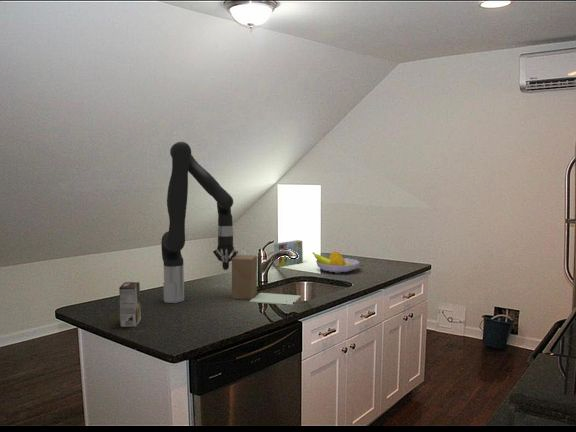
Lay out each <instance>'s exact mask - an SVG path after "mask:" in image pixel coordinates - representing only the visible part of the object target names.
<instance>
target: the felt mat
mask: <svg viewBox="0 0 576 432" xmlns="http://www.w3.org/2000/svg"><path fill="white" fill-rule="evenodd" d="M301 296H302V295H298V294H297V295H295V294H286V293H285V294H283V293H281V294H280V293H270V292H269V293H268V292H260V293H257V295H256V296H255V297H254V298H253V299H251V300H248V302H249V303H259V304H271V305H272V304H273V305H282V304H286V305H285V306H293V305H294V304H293V302H295V303H296V302H297V301H298V300H299V299H300V298H301ZM286 301H287V302H286Z"/></svg>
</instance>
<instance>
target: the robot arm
mask: <svg viewBox="0 0 576 432" xmlns="http://www.w3.org/2000/svg"><path fill="white" fill-rule="evenodd" d="M169 153H170V157H171V162H172V164H171V165H172V166H171V167H172V168H171V175H170V178H169V182H168V188H167V196H166V206H167V214H168V219H169V222H168V223H169V226H168V231H166V232H164V234H163V235H162V237H161V245H160V246H161V258H162V259H161V260H162V262H163V302H164V303H167V304H168V303H169V304H170V303H171V304H177V303H181V302H184V301H185V280H184V279H185V272H184V258H183V255H182V251H181V250H182V249H183V248H184V246H185V244H186V228H185V227H186V214H187V207H188V206H187V205H188V193H189V191H188V190H189V174H190V175H192V177H193V178H194V179H195V180H196V182H197V183H198V184H199V185H200V186H201V188H202V189H203V190H204V191H205V192H206V193H207V194H208V195H209V196H211V197H212V198H213V199H214V200H215V202H216V207H217V208H216V209H217V248H216V249H215V250H213V251H212V253H213V254H214V256H215V257H216V258H217V260H218V261H219V262H222V269H223V270H224V271H227V270H228V269H230V262H232V258H233V257H235V256H237V255H239V254H238V253H239V251H238V250H236V249H235V247H234V227H233V215H232V207H233V205H234V199H233V197H232V196H231V194H230V193H229V192H227V190H226V189H224V188H223V186H221V184H220V183H219V182H218V181H217V180H216V179H215V177H213V176H212V174H211V173H210V172H208V171H207V170H206V168H204V167H203V166H201V164H199V162H198V161H197V160H196V159H195V158H194V156H193V155H192V148H191V146H190V145H189V144H188V143H187V142H185V141H178V142H176V143H174V144H173V145H171V147H170V149H169ZM231 254H232V255H231Z"/></svg>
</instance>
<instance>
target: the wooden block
mask: <svg viewBox="0 0 576 432" xmlns="http://www.w3.org/2000/svg"><path fill="white" fill-rule="evenodd" d="M257 295H258V256H257V255H251V254H250V255H248V254H237V255H236V256H235V257H233V258H232V261H231V299H233V300H245V301H246V300H248V301H250V300H251V299H253V298H254V297H256V296H257Z"/></svg>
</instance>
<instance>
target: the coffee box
mask: <svg viewBox="0 0 576 432" xmlns="http://www.w3.org/2000/svg"><path fill="white" fill-rule="evenodd" d="M140 287H141V285H140V281H138V282H136V281H135V282H134V281H128V282H127V281H125V282H123V283H122V284H121V285H120V286H119V290H118V291H119V315H120V317H119V319H120V322H119V323H120V327H121V328H126V327H127V328H128V327H132V328H133V327H137V326H138V325H139V323H140V321H141V319H142V315H141V314H142V313H141V311H142V310H141V288H140Z"/></svg>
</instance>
